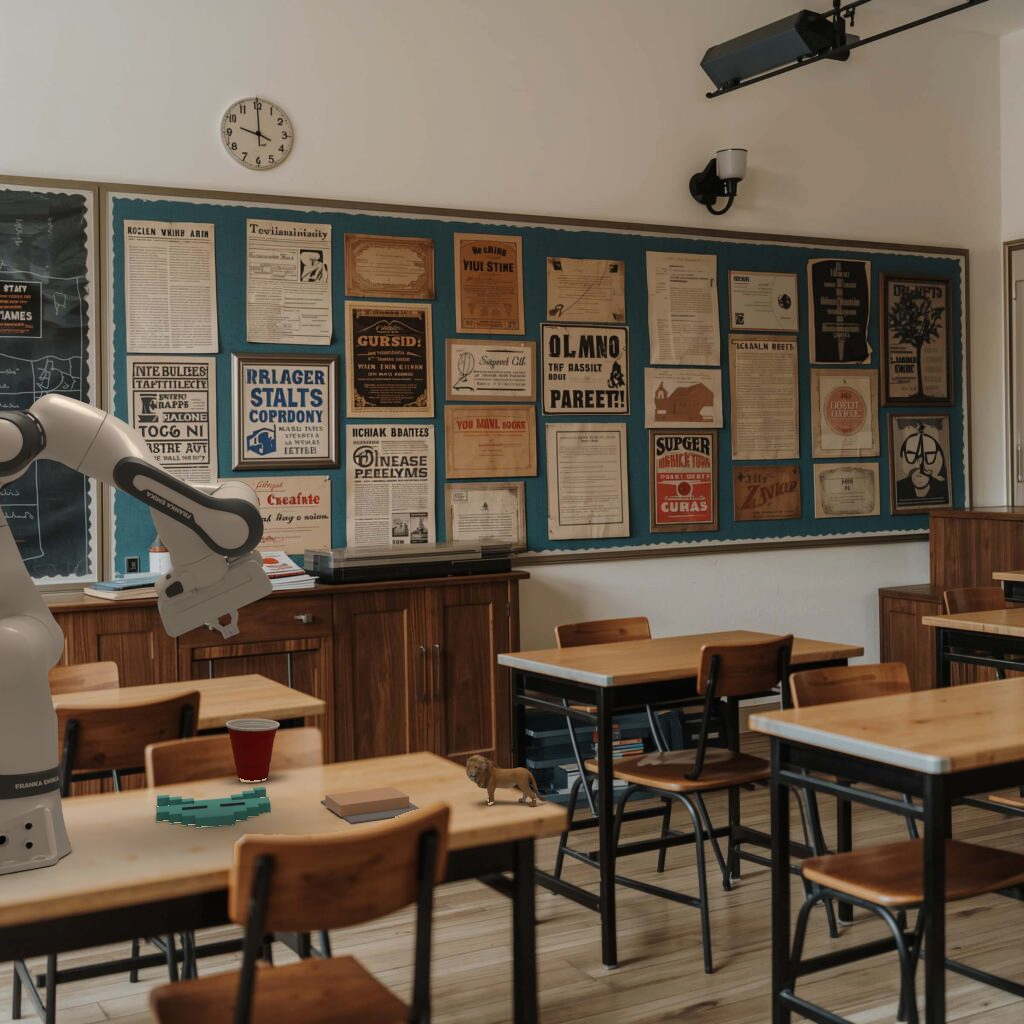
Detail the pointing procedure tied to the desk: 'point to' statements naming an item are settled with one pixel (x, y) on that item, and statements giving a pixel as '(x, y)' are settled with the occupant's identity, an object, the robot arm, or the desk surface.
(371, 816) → the mat
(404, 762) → the desk surface
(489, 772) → the lion figurine
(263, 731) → the plastic cup
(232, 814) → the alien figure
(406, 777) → the desk surface
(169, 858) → the desk surface
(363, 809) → the tile
